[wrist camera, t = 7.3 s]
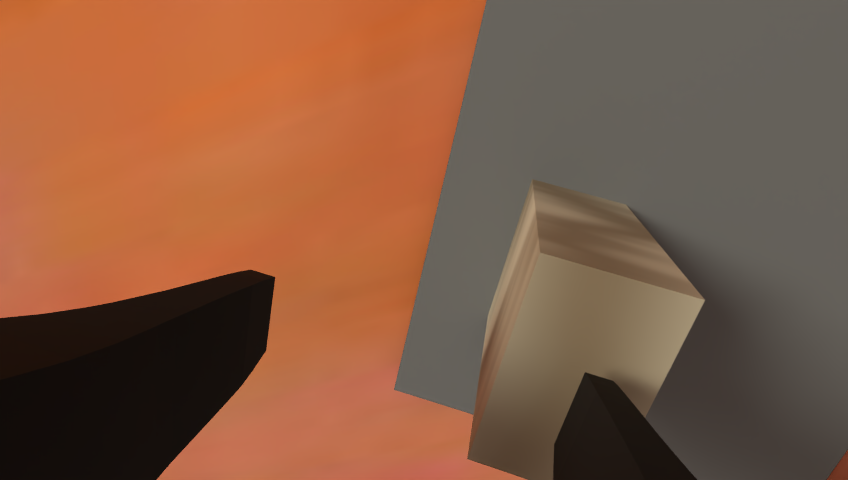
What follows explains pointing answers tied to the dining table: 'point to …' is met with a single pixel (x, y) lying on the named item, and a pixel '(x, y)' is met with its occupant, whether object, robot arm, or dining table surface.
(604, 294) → the light wood block
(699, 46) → the mat
